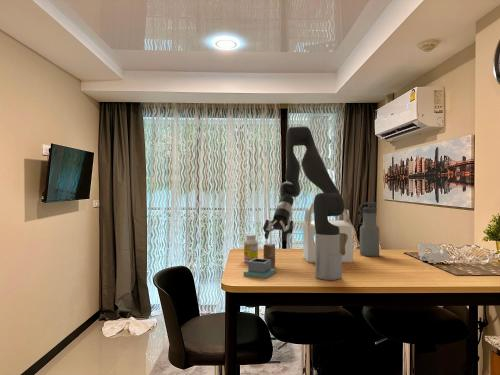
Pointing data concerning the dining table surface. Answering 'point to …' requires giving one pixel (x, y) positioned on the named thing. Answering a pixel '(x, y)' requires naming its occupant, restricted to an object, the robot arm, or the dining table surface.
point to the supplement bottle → (250, 247)
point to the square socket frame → (259, 265)
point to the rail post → (270, 253)
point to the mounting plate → (261, 275)
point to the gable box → (344, 237)
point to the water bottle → (369, 230)
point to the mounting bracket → (435, 255)
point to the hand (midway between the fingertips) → (274, 238)
